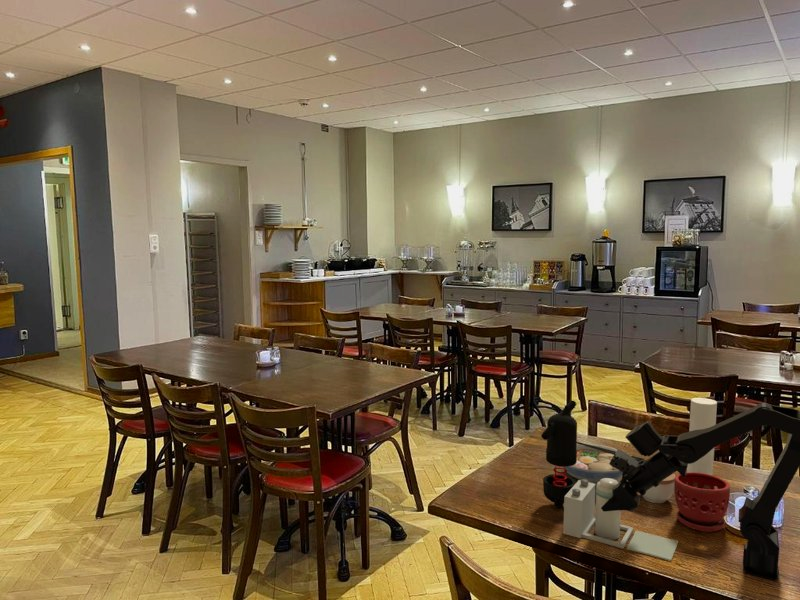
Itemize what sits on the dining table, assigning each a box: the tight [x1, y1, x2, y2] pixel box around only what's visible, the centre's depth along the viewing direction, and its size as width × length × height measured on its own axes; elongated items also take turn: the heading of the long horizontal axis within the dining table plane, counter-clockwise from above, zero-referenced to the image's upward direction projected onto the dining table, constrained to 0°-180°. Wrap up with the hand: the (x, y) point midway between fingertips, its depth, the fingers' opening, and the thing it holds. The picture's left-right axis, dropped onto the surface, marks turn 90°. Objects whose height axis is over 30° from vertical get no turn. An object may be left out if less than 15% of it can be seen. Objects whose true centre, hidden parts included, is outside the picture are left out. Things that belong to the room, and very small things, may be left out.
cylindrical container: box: [687, 397, 718, 476], centre depth 187 cm, size 7×7×25 cm
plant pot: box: [674, 472, 731, 533], centre depth 160 cm, size 13×13×12 cm
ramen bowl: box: [562, 441, 645, 485], centre depth 189 cm, size 25×23×8 cm
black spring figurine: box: [540, 400, 578, 509], centre depth 168 cm, size 14×9×30 cm
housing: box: [563, 479, 635, 550], centre depth 156 cm, size 15×12×11 cm
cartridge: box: [594, 478, 622, 541], centre depth 155 cm, size 6×6×14 cm
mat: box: [626, 530, 679, 562], centre depth 150 cm, size 10×10×1 cm
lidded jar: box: [642, 473, 677, 504], centre depth 175 cm, size 11×11×9 cm
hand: (606, 502), depth 155 cm, fingers open, 9 cm apart
